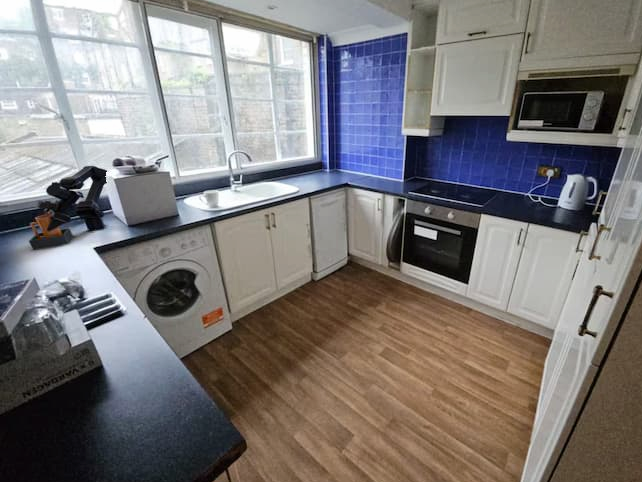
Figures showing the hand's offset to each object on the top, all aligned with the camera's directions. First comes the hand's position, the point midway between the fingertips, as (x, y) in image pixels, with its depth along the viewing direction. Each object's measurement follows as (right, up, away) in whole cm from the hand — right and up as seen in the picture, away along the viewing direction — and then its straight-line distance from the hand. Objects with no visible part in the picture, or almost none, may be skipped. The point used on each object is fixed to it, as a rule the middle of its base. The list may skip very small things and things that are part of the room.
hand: (46, 229), depth 141 cm
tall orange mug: (0, -6, +3) cm, 7 cm away
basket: (0, -6, +3) cm, 7 cm away
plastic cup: (-10, +7, +36) cm, 38 cm away
